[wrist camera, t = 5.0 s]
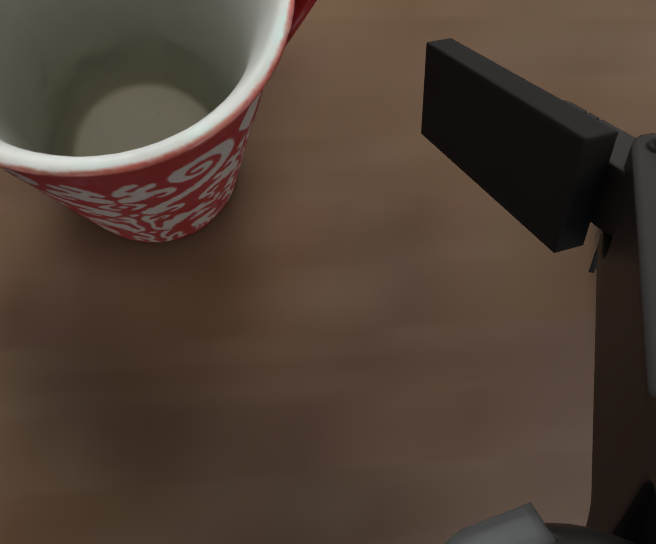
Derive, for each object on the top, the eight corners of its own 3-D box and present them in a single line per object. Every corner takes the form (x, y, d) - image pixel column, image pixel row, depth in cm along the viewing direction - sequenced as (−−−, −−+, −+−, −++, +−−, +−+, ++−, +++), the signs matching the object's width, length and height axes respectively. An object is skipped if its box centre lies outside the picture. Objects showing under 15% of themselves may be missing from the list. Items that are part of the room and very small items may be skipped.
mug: (128, 309, 23) (-1, 269, 10) (-3, 137, 23) (-319, -143, 9) (355, 149, 26) (496, -51, 12) (240, -5, 25) (261, -373, 12)
